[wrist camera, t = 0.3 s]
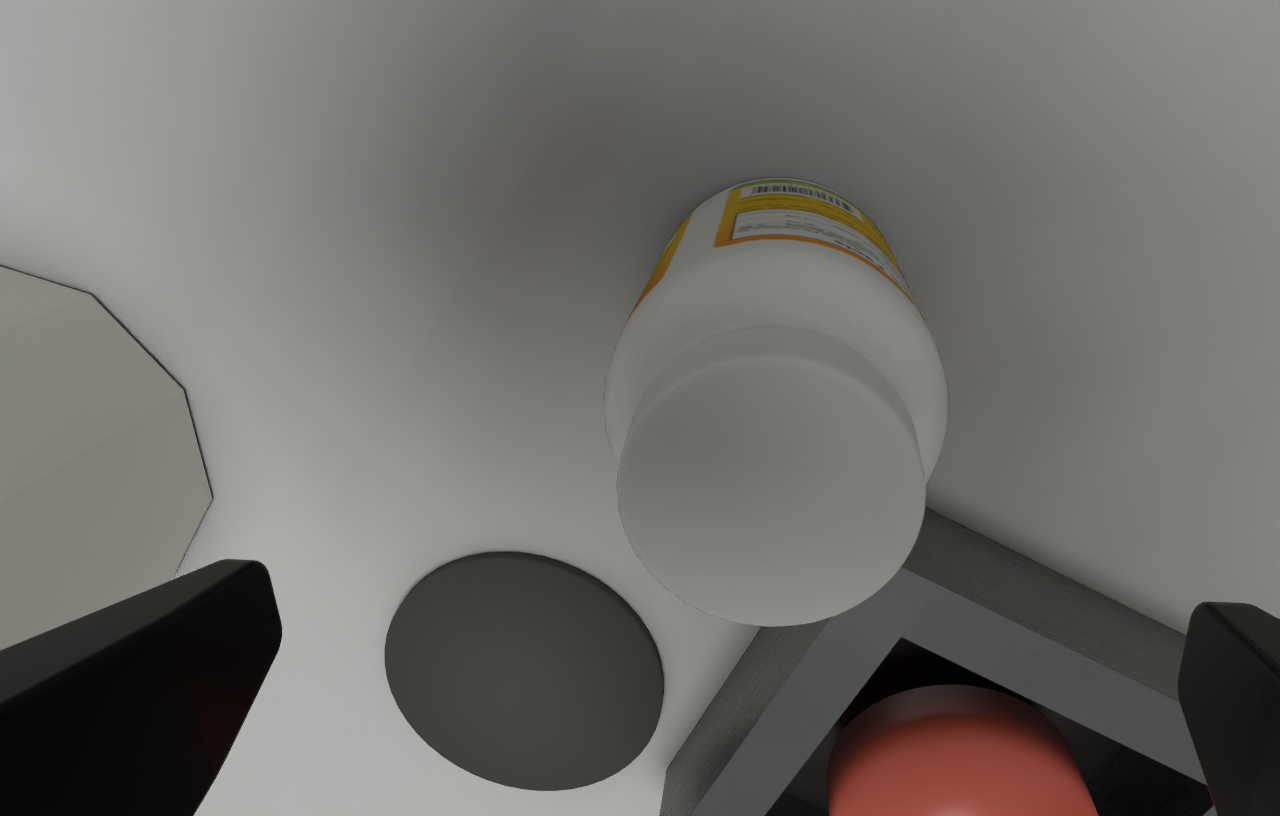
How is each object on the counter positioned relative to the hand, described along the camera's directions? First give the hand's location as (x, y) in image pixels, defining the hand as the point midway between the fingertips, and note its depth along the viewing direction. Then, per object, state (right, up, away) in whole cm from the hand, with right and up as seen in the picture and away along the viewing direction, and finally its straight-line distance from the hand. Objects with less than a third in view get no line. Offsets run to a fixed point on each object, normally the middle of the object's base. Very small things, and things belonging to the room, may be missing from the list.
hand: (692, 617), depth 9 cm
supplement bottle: (+3, +5, +12) cm, 13 cm away
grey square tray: (+7, -6, +15) cm, 18 cm away
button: (+7, -7, +14) cm, 17 cm away
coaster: (-4, -5, +17) cm, 18 cm away
